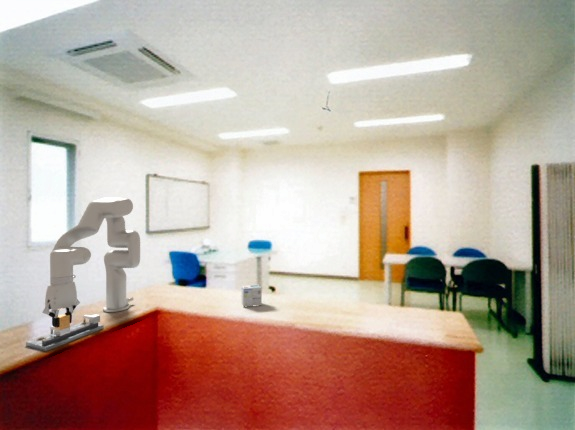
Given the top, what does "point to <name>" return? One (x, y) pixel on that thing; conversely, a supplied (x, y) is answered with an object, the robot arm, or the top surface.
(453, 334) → the top surface
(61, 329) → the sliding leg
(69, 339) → the base
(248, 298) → the light bulb box
